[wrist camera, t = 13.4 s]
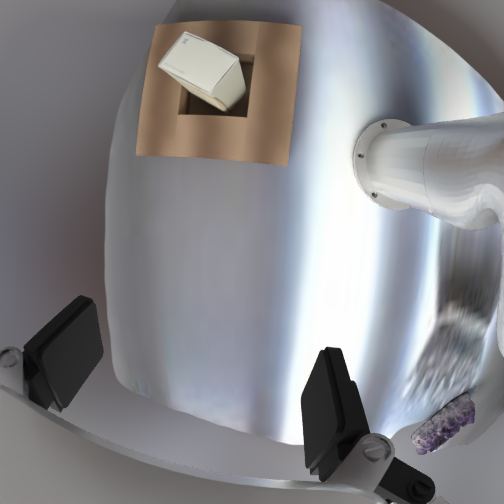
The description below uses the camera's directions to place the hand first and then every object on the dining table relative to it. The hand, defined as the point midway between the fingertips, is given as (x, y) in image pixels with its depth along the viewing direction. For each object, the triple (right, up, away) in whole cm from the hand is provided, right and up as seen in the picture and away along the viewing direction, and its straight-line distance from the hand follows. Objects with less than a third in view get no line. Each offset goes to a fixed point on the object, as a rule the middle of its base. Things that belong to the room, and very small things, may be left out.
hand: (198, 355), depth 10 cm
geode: (+54, -41, +40) cm, 79 cm away
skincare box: (-2, +24, +20) cm, 32 cm away
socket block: (-2, +25, +21) cm, 32 cm away
